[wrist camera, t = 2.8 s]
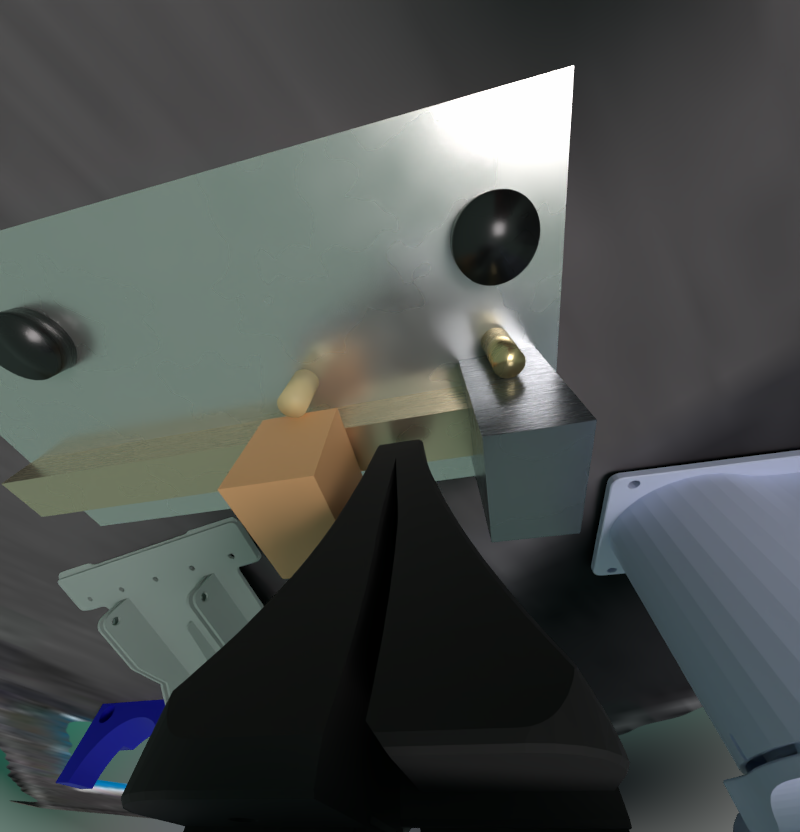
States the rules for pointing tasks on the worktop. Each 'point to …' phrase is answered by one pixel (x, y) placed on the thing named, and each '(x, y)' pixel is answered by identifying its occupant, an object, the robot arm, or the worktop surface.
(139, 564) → the metal bracket
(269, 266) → the plate
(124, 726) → the cable clip
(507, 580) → the worktop surface
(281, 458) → the block
